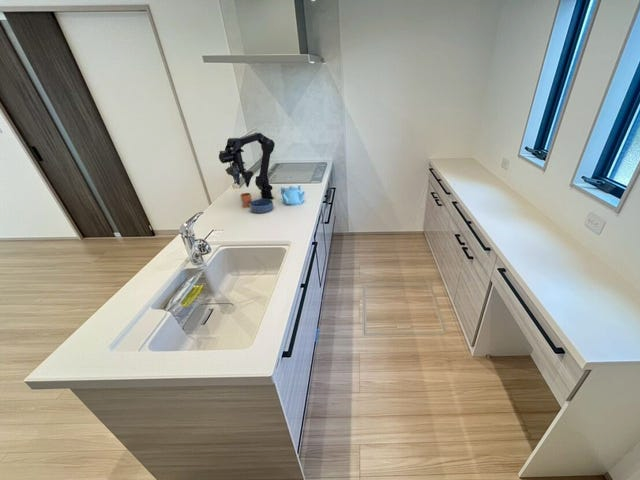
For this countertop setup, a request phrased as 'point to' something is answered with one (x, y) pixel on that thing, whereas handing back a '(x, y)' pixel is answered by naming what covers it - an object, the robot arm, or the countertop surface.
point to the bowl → (261, 205)
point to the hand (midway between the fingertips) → (243, 185)
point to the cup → (246, 199)
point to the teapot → (292, 195)
